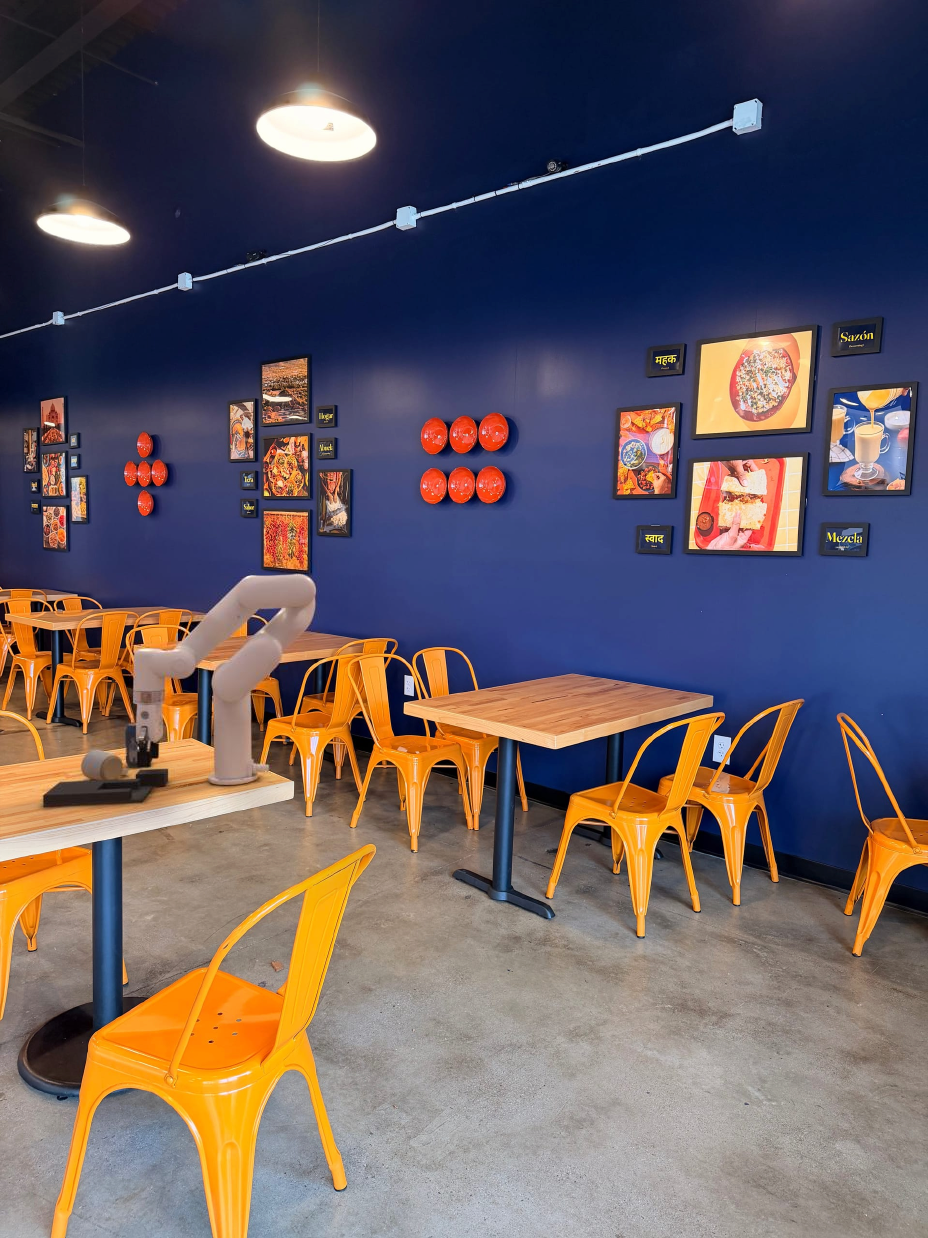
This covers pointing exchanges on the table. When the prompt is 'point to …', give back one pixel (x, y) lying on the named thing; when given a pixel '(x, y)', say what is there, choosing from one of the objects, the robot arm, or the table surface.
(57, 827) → the table surface
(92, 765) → the ceramic mug
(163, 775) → the loose pad
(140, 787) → the pad base
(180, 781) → the table surface
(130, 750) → the soda can
